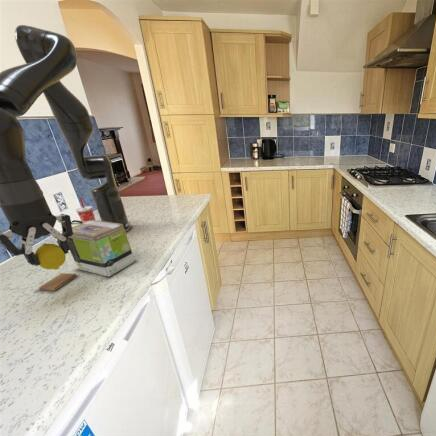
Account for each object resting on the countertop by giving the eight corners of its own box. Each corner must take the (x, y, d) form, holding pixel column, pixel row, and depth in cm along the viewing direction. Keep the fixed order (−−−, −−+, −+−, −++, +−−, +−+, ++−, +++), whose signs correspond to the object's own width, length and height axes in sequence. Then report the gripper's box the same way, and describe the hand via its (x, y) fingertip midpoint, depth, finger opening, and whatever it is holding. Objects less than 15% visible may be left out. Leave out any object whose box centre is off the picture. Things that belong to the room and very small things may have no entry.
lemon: (54, 264, 68) (42, 239, 65) (75, 262, 68) (63, 238, 65) (37, 276, 63) (22, 250, 60) (59, 275, 63) (46, 248, 60)
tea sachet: (40, 290, 72) (38, 287, 72) (62, 275, 79) (61, 273, 78) (55, 290, 72) (53, 288, 71) (76, 276, 78) (75, 273, 78)
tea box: (136, 261, 86) (124, 223, 80) (108, 278, 77) (92, 236, 71) (106, 254, 90) (92, 218, 84) (77, 269, 82) (59, 230, 76)
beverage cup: (79, 227, 113) (68, 199, 108) (93, 222, 119) (83, 195, 113) (87, 229, 111) (76, 200, 106) (101, 224, 116) (91, 196, 111)
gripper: (51, 188, 65) (75, 243, 72) (-31, 206, 53) (7, 270, 60) (66, 191, 62) (89, 248, 69) (-17, 211, 50) (21, 277, 57)
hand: (51, 258), depth 64 cm, fingers closed on lemon, 5 cm apart
